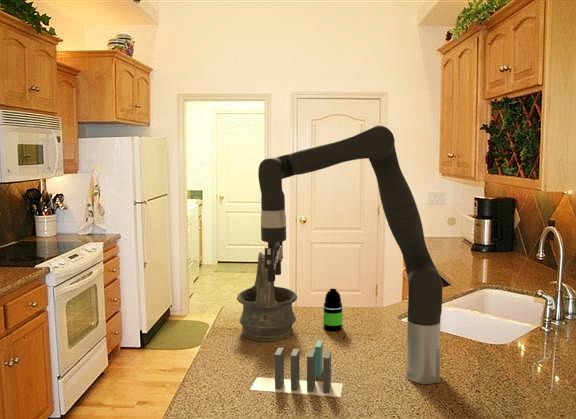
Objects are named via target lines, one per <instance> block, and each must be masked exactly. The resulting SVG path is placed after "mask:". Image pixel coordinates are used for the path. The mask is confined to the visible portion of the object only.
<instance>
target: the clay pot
mask: <svg viewBox="0 0 576 419" xmlns="http://www.w3.org/2000/svg"><path fill="white" fill-rule="evenodd" d="M269 264H271V263H269ZM255 275H256V276H255V280H254V284H253V286H251V287H250V288H246V289H244V290H242V291H241V292H238V294H237V295H236V296H237V297H236V300H237V302H238V303H240V304H241V305H242V307H243V308H242V313H241V314H240V317H239V319H238V321H239V324H240V325H241V326H242V330H241V334H242V336H243V337H244V338H246V339H249V340H251V341H256V342H273V341H282V340H284V339H287V338H289V337H291V336H292V335H293V334H294V328H293V325H294V324H295V323H296V320H297V317H296V316H295V313H294V311H293V303H295V302H296V301H297V300H298V295H297V294H296V292H294V291H293V290H291V289H289V288H287V287H282V286H275V282H268V278H267V269H266V268H265V253H263V252H258V256H257V267H256V274H255Z"/></svg>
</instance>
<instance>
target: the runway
mask: <svg viewBox="0 0 576 419" xmlns="http://www.w3.org/2000/svg"><path fill="white" fill-rule="evenodd" d="M343 386H344V383H341V382H340V383H339V382H338V383H337V382H331V388H330V392H329V393H323V381H316V380H315V386H314V390H313V392H307V380H302V379H300V383H299V386H298V388H297V391H294V390H291V378H290V379H289V378H287V379H286V378H284V383H283V385H282V387H281V389H275V377H274V378H273V377H264V376H263V377H261V376H257V377H256V378H255V380H254V381H253V384H252V386H251V387H250V389H249V391H262V392H272V393H273V392H275V393H286V394H299V395H310V396H322V397H323V396H324V397H325V396H326V397H337V398H341V397H342V390H343Z"/></svg>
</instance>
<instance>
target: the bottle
mask: <svg viewBox="0 0 576 419" xmlns="http://www.w3.org/2000/svg"><path fill="white" fill-rule="evenodd" d="M324 298H325V299H324V302H323V327H322V328H323V330H324V331H327V332H331V333H332V332H334V333H335V332H340V331H342V330H343V329H344V328H343V302H342V297H341V293H340V292H339V291H337V288H330V289H329V290H328V291H327V292H326V294H325V297H324Z"/></svg>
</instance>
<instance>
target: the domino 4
mask: <svg viewBox="0 0 576 419" xmlns="http://www.w3.org/2000/svg"><path fill="white" fill-rule="evenodd" d="M323 344H324V343H323V340H318V339H317V340H316V343H315V345H314V350H315V379H321V378H322V374H323V357H324V354H323V353H324V352H323V348H324V347H323V346H324V345H323Z"/></svg>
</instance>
